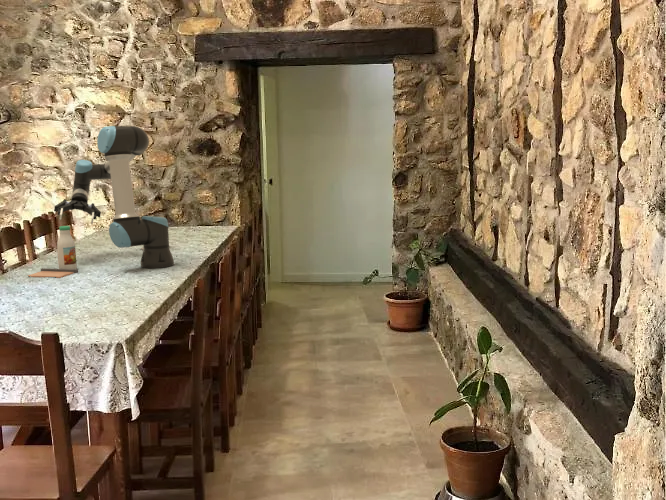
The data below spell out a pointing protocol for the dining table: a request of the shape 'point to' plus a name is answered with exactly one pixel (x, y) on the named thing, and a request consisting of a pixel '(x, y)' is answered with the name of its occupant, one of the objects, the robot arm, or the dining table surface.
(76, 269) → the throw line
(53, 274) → the tile
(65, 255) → the milk bottle
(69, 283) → the dining table surface
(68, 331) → the dining table surface
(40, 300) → the dining table surface
